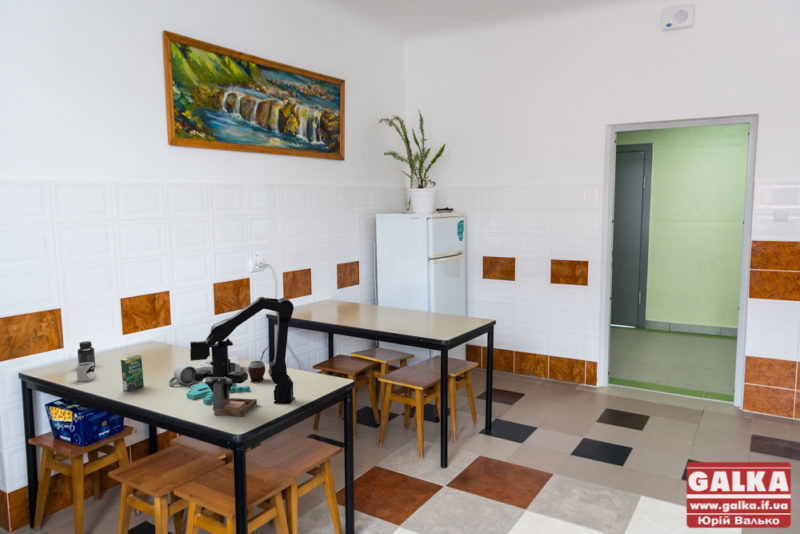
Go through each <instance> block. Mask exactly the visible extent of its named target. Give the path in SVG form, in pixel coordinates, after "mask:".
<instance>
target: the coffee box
mask: <svg viewBox="0 0 800 534" xmlns="http://www.w3.org/2000/svg"><path fill="white" fill-rule="evenodd" d="M142 361H143V360H142V355H139V354H135V355H133V356H130V357H126V358H123V359H120V366H121V377H122V378H121V379H122V388H123V389H122V390H123V392H124V391H125V392H129V391H132V390H135V389H139V388H141V387H144V385H145V382H144V372H143V371H144V370H143V362H142Z"/></svg>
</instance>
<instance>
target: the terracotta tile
mask: <svg viewBox="0 0 800 534" xmlns="http://www.w3.org/2000/svg"><path fill="white" fill-rule="evenodd" d="M245 407H246V405H245V402H236V401H230V402H229V403H227V404H226V405H225V406H223V409H226V410H242V409H244V408H245Z"/></svg>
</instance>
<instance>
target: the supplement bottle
mask: <svg viewBox="0 0 800 534" xmlns="http://www.w3.org/2000/svg"><path fill="white" fill-rule="evenodd" d="M92 346H93V344H92V341H85V340H84V341H81V342H79V348H78V349H77V362H78V364H80V363H86V362H92V363H94V368H96V356H95V348H94V347H92Z"/></svg>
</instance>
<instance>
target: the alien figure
mask: <svg viewBox="0 0 800 534" xmlns="http://www.w3.org/2000/svg"><path fill="white" fill-rule="evenodd" d="M205 382H206V381H204V382H203V381H202V382H199V383H197V384H193V385H191V387H190V389H189V390H188V392H187V393H186V398H187V399H189V400H190V399H191V400H193V401H194V400H197V399H200V398H203V397H204V398H203V399H202V400H203V401H202V403H203V404H204V405H206V406H207V405H210V404H213V392H212V391H211V389H210V388H209V387H208V385H207V384H205ZM240 392H243V393H248V392H251V386H250V385H244V386H240V385H237V383H233V384H232V386H231V389H230V392H229V394H231V393H237V394H238V393H240Z"/></svg>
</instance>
